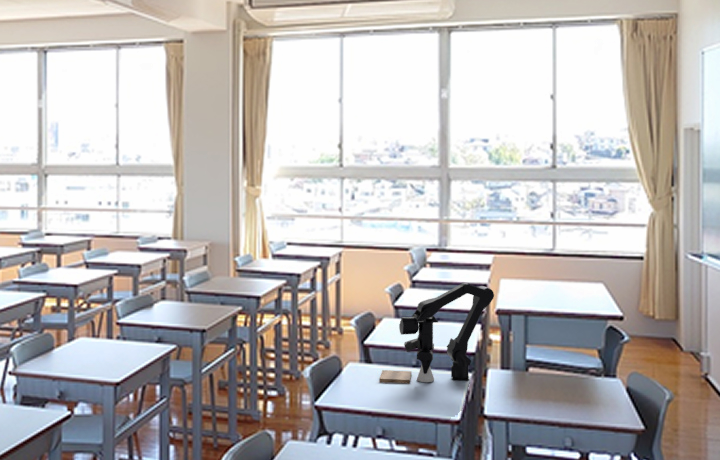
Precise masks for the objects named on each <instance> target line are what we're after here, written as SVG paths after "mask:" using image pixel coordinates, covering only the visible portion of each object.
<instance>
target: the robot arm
mask: <svg viewBox="0 0 720 460" xmlns="http://www.w3.org/2000/svg"><path fill="white" fill-rule="evenodd" d="M494 293H495V292H494V291H493V290H492V288H490V287H486V286H483V285H480V286H477V285H473V284H470V283H468V282H464V281H463V282H461V283H460V284H459V285H457V286H455V287H453V288H451V289H449V290H448V291H446V292H444V293H442V294H440V295H438V296H436V297H434V298H428V299H426V300H422V301H420V302H419V303H418V304H417V308H416V310H415V311H414V313H413V314H412V315H411V316H409V317H407V316H406V317H405V316H402V317H401V318H400V321H399V327H398V328H399V334H400V335H415V334H417V333H418V335H417V338H414V339H410V340H407V341H405V342H404V343H403V346H404V349H405V351H406V352H410V351H414V350H417V353H416V360H419V361H420V362H421V365H422V367H423V372H424V374H427V371H428V369H429V366H430V367H431V364H432V361H433V359H434V350H435V343H434V323H439V320H438V319H437V318H436V317H435V315H436V314H437V313H439V311H440V310H441V309H442V308H443V307H444V306H445V307H446V306H447V305H449V304H450V303H452V302H454V301H456V300H458V299H460V298H461V297H463V296H465V295H467V294H468V295H471V296H473V297H472V305H471V307H470V309H469V311H468V313H467V316H466V318H465V320H464V322H463V324H462V326H461V328H460V330H459V333H458V335H457V336H456V337H455V338H454V339H453V337H452V338H450V340H449V341H448V344H447V346H446V348H447V349H446V353H447V356H448V357H449V358H450V359H451V361H452V365H451V368H450V369H451V371H450V377H451V378H452V380H453V381H469V380H470V379H469V378H470V376H469V366H471V363H472V360H471V358H470V357H468V356H467V352H468V344H469V341H470V338H471V336H472V334H473V332H474V331H475V329H476V326H477V324H478V322H479V319H480V317H481V316H482V313H483V312H484V310H485V309H486V308H487V307H488V306H489V305H490V304H491V302H492V301H493V299H494V297H495V294H494Z"/></svg>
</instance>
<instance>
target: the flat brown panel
mask: <svg viewBox="0 0 720 460" xmlns="http://www.w3.org/2000/svg"><path fill="white" fill-rule="evenodd" d="M411 379H412V371H410V370H388V369H385V370H384V369H382V371H381V373H380V376H379V381H378V382H379V383H383V384H384V383H385V384H387V383H388V384H391V383H392V384H411Z"/></svg>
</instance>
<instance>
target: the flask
mask: <svg viewBox="0 0 720 460" xmlns="http://www.w3.org/2000/svg"><path fill="white" fill-rule="evenodd" d="M416 381H418V382H421V383H432V382H434V381H435V377H434V373H433V371H432V369H431V365H430V366H429V369H428V371H427V374H424V372H423V367H422V364H421V366H420V370H419V372H418V374H417V378H416Z"/></svg>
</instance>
